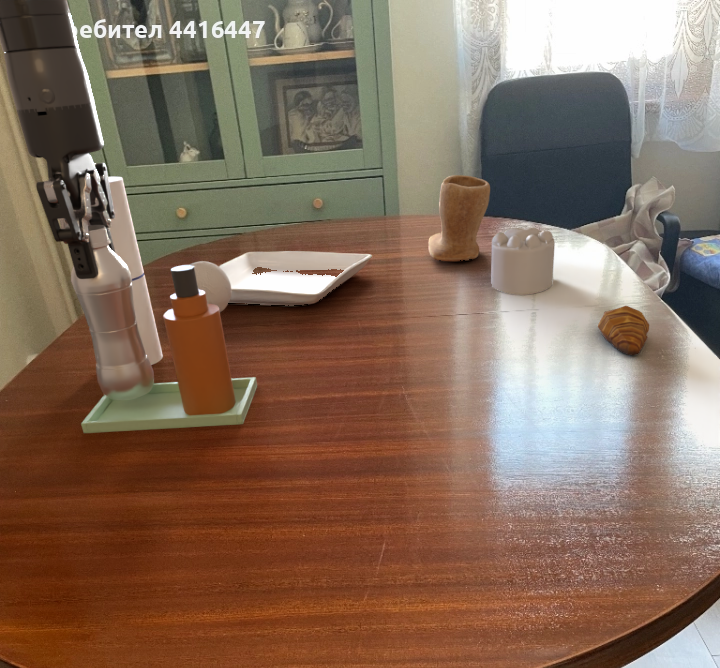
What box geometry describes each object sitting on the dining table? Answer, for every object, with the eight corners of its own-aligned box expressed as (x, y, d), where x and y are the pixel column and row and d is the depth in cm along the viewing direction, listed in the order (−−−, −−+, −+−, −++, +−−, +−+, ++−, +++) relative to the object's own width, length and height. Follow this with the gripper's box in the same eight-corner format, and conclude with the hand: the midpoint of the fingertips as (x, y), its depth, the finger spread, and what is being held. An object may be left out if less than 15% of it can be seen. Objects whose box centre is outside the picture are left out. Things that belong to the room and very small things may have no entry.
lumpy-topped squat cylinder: (549, 272, 131) (552, 222, 126) (555, 293, 120) (559, 239, 115) (490, 274, 132) (491, 225, 128) (491, 295, 121) (492, 242, 117)
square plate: (320, 315, 119) (318, 291, 117) (179, 309, 129) (174, 287, 127) (374, 270, 141) (373, 250, 139) (250, 268, 150) (247, 249, 148)
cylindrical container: (138, 374, 102) (92, 186, 90) (103, 368, 106) (53, 186, 93) (173, 357, 108) (134, 176, 95) (138, 351, 111) (96, 176, 98)
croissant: (587, 325, 105) (590, 291, 103) (636, 323, 105) (640, 289, 102) (605, 360, 94) (609, 323, 91) (659, 358, 93) (665, 320, 91)
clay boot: (490, 264, 138) (492, 180, 131) (428, 267, 140) (426, 184, 132) (486, 245, 151) (487, 168, 144) (428, 248, 153) (426, 172, 145)
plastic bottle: (115, 385, 93) (71, 223, 83) (165, 384, 92) (128, 220, 82) (94, 407, 87) (44, 236, 77) (147, 406, 86) (105, 233, 76)
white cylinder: (236, 357, 106) (218, 252, 98) (251, 372, 100) (233, 262, 92) (188, 368, 103) (165, 261, 96) (200, 384, 98) (178, 272, 90)
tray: (84, 436, 86) (80, 423, 85) (114, 397, 96) (111, 385, 95) (243, 427, 85) (241, 414, 84) (257, 388, 95) (255, 376, 94)
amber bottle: (178, 418, 87) (146, 277, 79) (190, 396, 93) (161, 262, 84) (230, 415, 87) (204, 273, 78) (239, 393, 93) (216, 258, 84)
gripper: (47, 101, 80) (88, 256, 88) (-15, 110, 67) (39, 290, 76) (113, 95, 79) (148, 252, 88) (63, 104, 67) (109, 286, 75)
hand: (97, 269), depth 82 cm, fingers closed on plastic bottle, 5 cm apart
